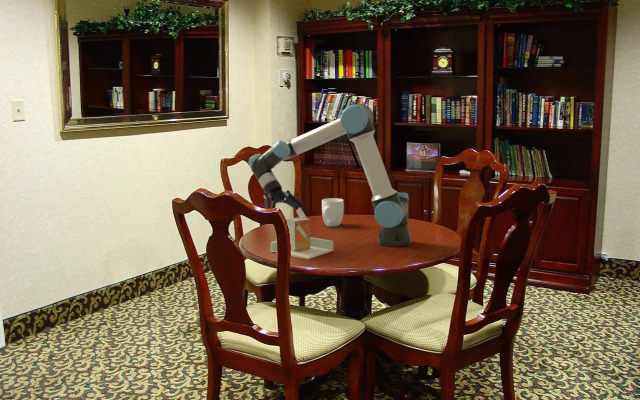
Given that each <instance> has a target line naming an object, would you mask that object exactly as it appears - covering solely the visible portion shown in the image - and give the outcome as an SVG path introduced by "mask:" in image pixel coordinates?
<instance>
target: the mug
mask: <svg viewBox="0 0 640 400" xmlns="http://www.w3.org/2000/svg"><path fill="white" fill-rule="evenodd" d="M344 206H345V205H344V199H342V198H336V197H335V198H333V197H332V198H323V199H321V212H322V213H321V215H322V219H323V222H324V224H325V226H328V227H332V228H333V227H338V226H340V224H341V223H342V221H343V218H344V210H345V208H344Z"/></svg>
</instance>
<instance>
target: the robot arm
mask: <svg viewBox="0 0 640 400" xmlns="http://www.w3.org/2000/svg"><path fill="white" fill-rule="evenodd" d="M373 122H374V113H373V110H372V109H371V108H370V107H369V106H368V105H366V104H364V103H358V104H357V103H354V104H350V105H348V106H347V107H345V108H344V109H343V110H342V112H341V114H340V117H339V118H336V119H334V120H332V121H330V122H328V123H326V124H323V125H321V126H319V127H317V128H314V129H312V130H309V131H308V132H306V133H303V134H301V135H299V136H296V137H295V138H292V139H290V140H287V141H283V140H280V139H279V140H278V141H277V142H276V143H274V144H273V145H271V147H270V148H269V149H267V150H266V151H265V152H264V153H263V154H261V153H257V154H256V153H255V154H254V155H252V156H251V157H249V159H248V165H249V168H250V169H251V170H250V171H251V172H252V173H253V175H254V176H255V177H256V180H257V181H258V182H259V185H260V187H261V188H262V190H263V191H264V195H263V196H262V199H263V201H264V209H265V208H270V209H271V208H275V209H276V206H277V204H279V203H283V204H286V205H288V206H290V207H292V208H293V209H295V211H296V214H297V215H298V218H299V217H304V218H307V216H306V214H305V211H304V210H303V207H304V205H305V204H304V203H303V202H302V201H300V200H299V199H298V198H297V197H296V196H295V195H293V194H292V193H291V192H290V190H289V189H287V190H286V191H283V187H282V185H281V183H280V181H278V178H277V177H276V175H275V173H274V172H273V169H274V168H275V167H276V166H277V165H279V164H280V163H281V162H283V161H286V160H291V159H293V158H294V157H296V156H298V155H300V154H303V153H305V152H307V151H310V150H312V149H314V148H316V147H319V146H321V145H324V144H325V143H327V142H330V141H332V140H334V139H337V138H339V137H341V136H345V135H347V138H348V140H349V142H352V143H353V144H354V146H355V150H356V152H357V154H358V157H359V160H360V163H361V166H362V168H363V171H364V173H365V176H366V179H367V182H368V185H369V187H370V191H371V193H372V198H371V204H372V207H373V210H374V213H373V214H374V219H375V221H376V222H377V224H379V225H380V226H381V227H380V230H379V233H378V236H377V244H379V245H381V246H386V247H406V246H410V245H411V244H412V236H411V232H410V229H409V201H410V199H409V194H408V193H407V192H398V191H397V190H395V189H393V187H392V184H391V181H390V179H389V176H388V174H387V170H386V168H385V165H384V162H383V160H382V157H381V154H380V152H379V149H378V145H377V143H376V139H375V136H374V135H375V131H376V130H375V126H374V125H373ZM270 200H271V201H270Z"/></svg>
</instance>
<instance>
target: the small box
mask: <svg viewBox="0 0 640 400" xmlns="http://www.w3.org/2000/svg"><path fill="white" fill-rule="evenodd" d="M287 225H288V228H289V233H290V244H291V250H293V251H297V250H304V249H310V237H311V219H310V218H304V217H299V216H298V217H292V218H286V226H287Z"/></svg>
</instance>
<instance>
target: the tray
mask: <svg viewBox="0 0 640 400" xmlns="http://www.w3.org/2000/svg"><path fill="white" fill-rule="evenodd" d="M269 246H270V248H269V249H270V251H271V252H276V253H275V254H277V240H274V241H270V245H269ZM271 252H270V253H271ZM331 252H334V240H330V239H329V240H328V239H324V238H317V237H312V236H310V249H304V250H297V251H293V250H291V256H290V257H293V258H294V257H295V258H299V259H306V260H310V259H314V258H316V257H318V256H319V257H320V256H322V255H325V254H327V253H331Z"/></svg>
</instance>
